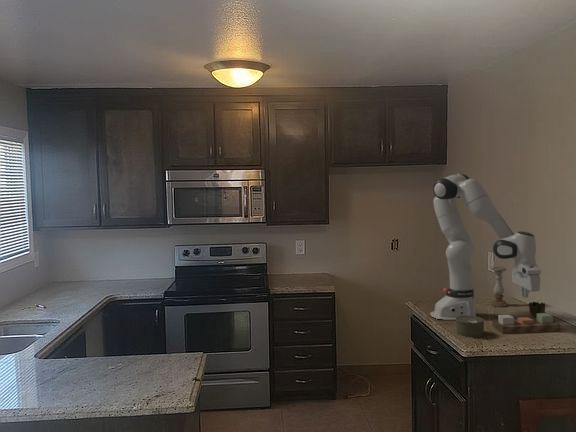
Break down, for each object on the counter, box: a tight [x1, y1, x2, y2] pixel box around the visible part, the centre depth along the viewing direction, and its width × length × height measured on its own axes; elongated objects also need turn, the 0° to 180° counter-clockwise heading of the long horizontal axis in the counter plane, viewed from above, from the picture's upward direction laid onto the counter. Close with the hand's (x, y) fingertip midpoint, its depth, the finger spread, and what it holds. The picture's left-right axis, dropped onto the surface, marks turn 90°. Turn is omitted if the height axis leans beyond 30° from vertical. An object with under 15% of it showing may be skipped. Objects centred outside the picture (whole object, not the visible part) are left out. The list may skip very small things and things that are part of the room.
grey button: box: [497, 314, 515, 325], centre depth 246 cm, size 5×5×4 cm
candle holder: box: [490, 266, 509, 308], centre depth 290 cm, size 9×9×20 cm
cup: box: [528, 301, 546, 318], centre depth 260 cm, size 8×7×8 cm
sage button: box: [537, 312, 554, 323], centre depth 246 cm, size 5×5×4 cm
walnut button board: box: [491, 317, 561, 335], centre depth 246 cm, size 26×12×3 cm, turn 92°
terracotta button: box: [516, 316, 533, 324], centre depth 246 cm, size 5×5×4 cm
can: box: [455, 315, 485, 338], centre depth 241 cm, size 12×12×7 cm
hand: (524, 297), depth 245 cm, fingers closed
